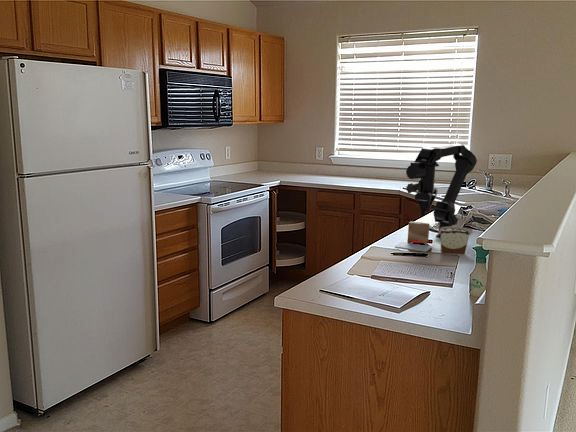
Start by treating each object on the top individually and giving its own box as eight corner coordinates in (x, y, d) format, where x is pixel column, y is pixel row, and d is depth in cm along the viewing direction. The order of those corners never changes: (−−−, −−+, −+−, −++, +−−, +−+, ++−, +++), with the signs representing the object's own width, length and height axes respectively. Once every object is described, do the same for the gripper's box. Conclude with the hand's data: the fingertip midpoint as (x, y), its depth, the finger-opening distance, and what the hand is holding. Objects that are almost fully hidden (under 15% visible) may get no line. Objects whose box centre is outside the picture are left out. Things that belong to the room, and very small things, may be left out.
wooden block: (409, 241, 230) (410, 221, 228) (428, 244, 226) (429, 223, 224) (407, 243, 227) (408, 222, 225) (426, 246, 223) (427, 225, 221)
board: (401, 242, 227) (401, 241, 227) (431, 247, 222) (432, 246, 221) (394, 247, 220) (394, 246, 220) (426, 251, 214) (426, 251, 214)
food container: (464, 250, 217) (466, 226, 215) (468, 255, 211) (471, 230, 209) (433, 249, 217) (435, 225, 215) (437, 254, 211) (439, 229, 209)
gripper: (413, 173, 238) (411, 207, 242) (403, 178, 222) (401, 215, 225) (438, 175, 234) (436, 210, 237) (430, 180, 217) (428, 218, 221)
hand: (425, 213), depth 230 cm, fingers open, 9 cm apart
